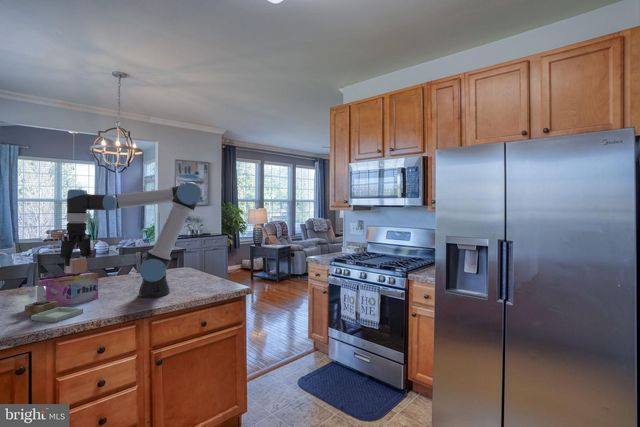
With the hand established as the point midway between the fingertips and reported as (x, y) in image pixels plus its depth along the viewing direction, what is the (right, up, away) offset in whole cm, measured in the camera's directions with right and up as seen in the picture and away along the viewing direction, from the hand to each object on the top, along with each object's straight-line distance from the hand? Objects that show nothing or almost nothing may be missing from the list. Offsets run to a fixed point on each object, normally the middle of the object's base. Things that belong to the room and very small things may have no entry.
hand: (75, 271), depth 154 cm
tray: (+1, -18, -11) cm, 21 cm away
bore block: (-10, -17, -7) cm, 21 cm away
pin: (-10, -17, -7) cm, 21 cm away
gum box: (-10, -17, +10) cm, 22 cm away
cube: (0, 0, 0) cm, 0 cm away
